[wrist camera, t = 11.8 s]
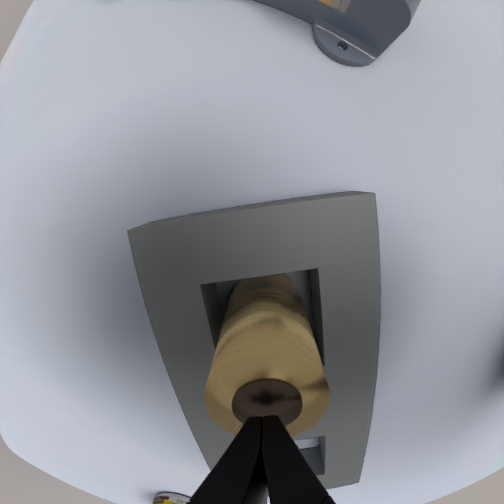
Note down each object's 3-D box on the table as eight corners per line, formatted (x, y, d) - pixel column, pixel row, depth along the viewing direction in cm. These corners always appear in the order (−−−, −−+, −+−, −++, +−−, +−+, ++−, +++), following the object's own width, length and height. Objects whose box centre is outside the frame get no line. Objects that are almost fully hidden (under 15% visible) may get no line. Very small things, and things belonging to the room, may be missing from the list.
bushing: (297, 265, 15) (330, 347, 7) (304, 330, 16) (330, 436, 8) (223, 275, 16) (188, 363, 8) (236, 339, 17) (218, 447, 9)
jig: (354, 190, 14) (374, 192, 11) (352, 457, 19) (358, 482, 16) (151, 221, 15) (127, 230, 12) (228, 471, 20) (225, 497, 17)
